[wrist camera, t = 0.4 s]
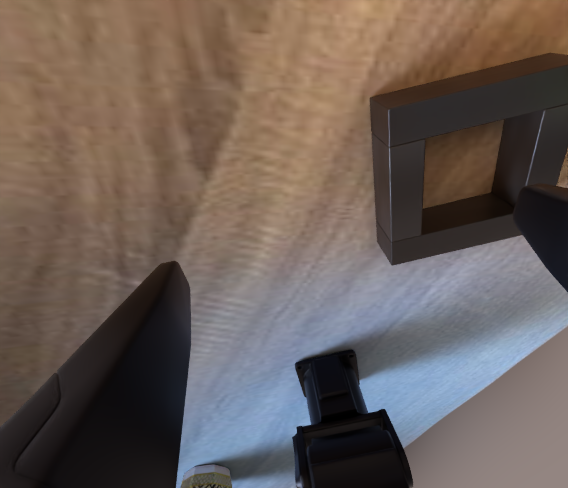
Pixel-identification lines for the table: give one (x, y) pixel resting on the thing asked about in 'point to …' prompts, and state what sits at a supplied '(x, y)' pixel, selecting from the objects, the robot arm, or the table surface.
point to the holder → (455, 116)
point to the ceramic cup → (207, 477)
